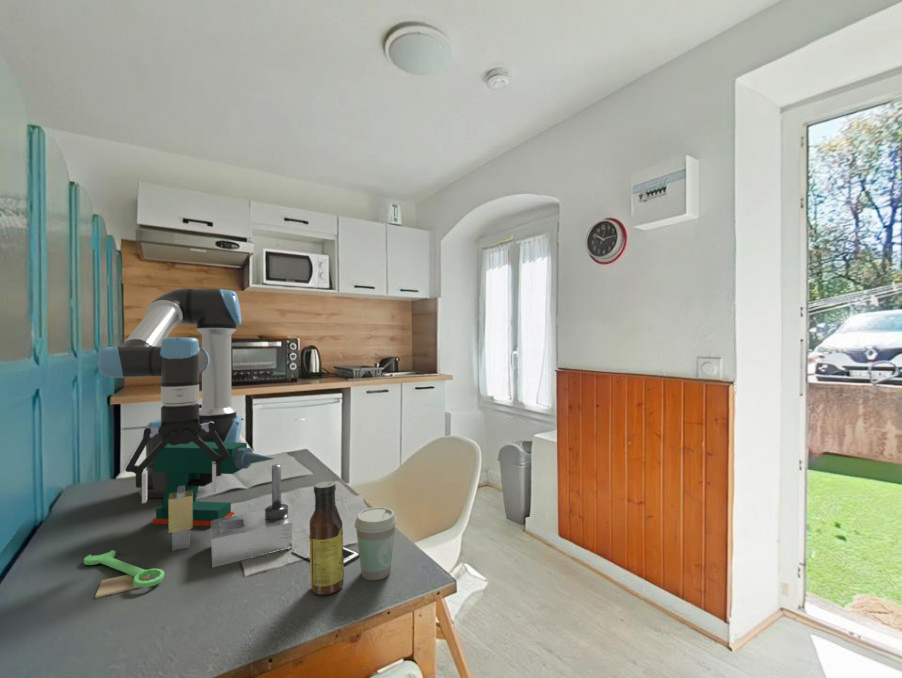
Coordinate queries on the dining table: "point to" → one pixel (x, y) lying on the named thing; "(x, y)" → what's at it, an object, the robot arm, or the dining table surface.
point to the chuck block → (252, 530)
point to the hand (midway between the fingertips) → (180, 495)
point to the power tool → (199, 476)
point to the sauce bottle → (326, 542)
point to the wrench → (126, 568)
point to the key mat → (118, 585)
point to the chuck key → (180, 517)
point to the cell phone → (348, 555)
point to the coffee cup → (375, 541)
